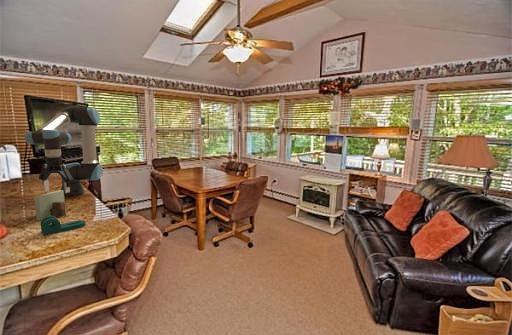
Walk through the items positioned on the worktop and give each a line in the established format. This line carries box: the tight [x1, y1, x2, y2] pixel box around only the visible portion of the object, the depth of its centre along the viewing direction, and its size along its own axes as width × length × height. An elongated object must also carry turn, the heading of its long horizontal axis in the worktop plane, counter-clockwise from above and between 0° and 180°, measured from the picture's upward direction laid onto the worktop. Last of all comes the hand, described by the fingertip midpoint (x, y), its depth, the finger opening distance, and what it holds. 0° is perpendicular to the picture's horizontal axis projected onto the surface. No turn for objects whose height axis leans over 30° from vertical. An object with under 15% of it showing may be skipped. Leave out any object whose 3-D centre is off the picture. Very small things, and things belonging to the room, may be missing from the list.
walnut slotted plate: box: [50, 202, 67, 218], centre depth 153 cm, size 16×2×8 cm, turn 83°
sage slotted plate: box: [33, 189, 66, 221], centre depth 152 cm, size 16×3×13 cm, turn 173°
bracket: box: [40, 215, 86, 237], centre depth 134 cm, size 18×7×8 cm, turn 137°
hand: (57, 191), depth 157 cm, fingers open, 13 cm apart
